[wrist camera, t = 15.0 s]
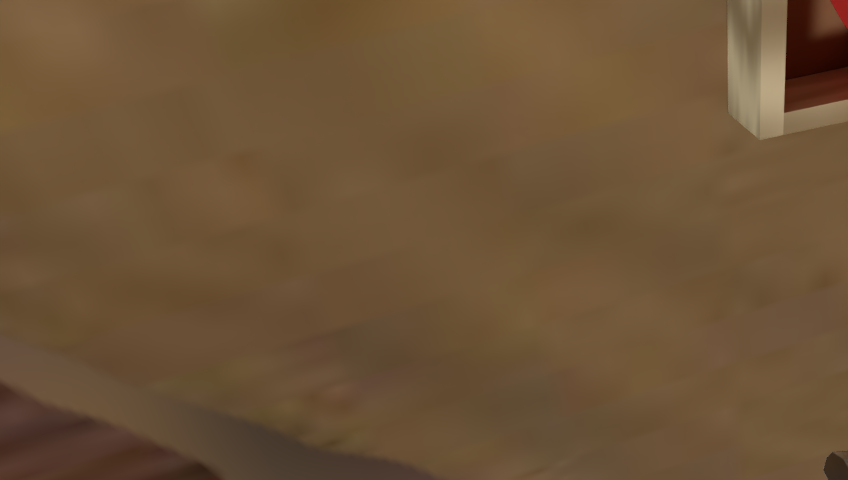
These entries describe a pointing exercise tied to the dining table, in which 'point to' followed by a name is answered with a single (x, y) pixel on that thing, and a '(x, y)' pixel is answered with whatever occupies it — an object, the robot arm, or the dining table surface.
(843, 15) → the french fries
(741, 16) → the caddy
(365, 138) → the dining table surface
